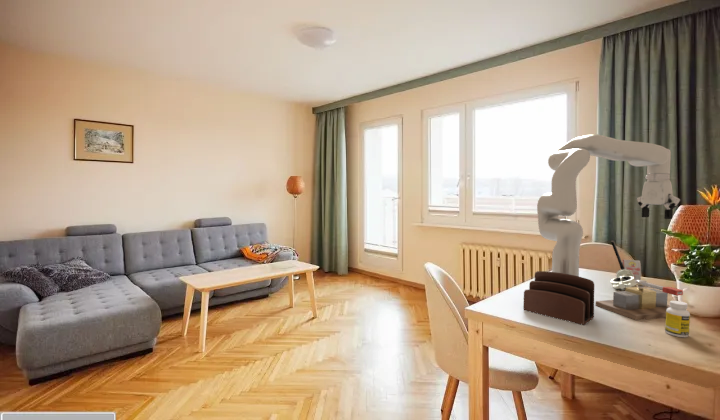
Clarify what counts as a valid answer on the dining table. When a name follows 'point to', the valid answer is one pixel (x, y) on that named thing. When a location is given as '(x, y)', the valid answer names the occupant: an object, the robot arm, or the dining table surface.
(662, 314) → the board
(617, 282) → the butterfly valve
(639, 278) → the printed carton box
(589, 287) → the letter holder
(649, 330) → the dining table surface
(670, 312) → the supplement bottle
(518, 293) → the dining table surface
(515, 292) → the dining table surface
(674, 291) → the valve lever
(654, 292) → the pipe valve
